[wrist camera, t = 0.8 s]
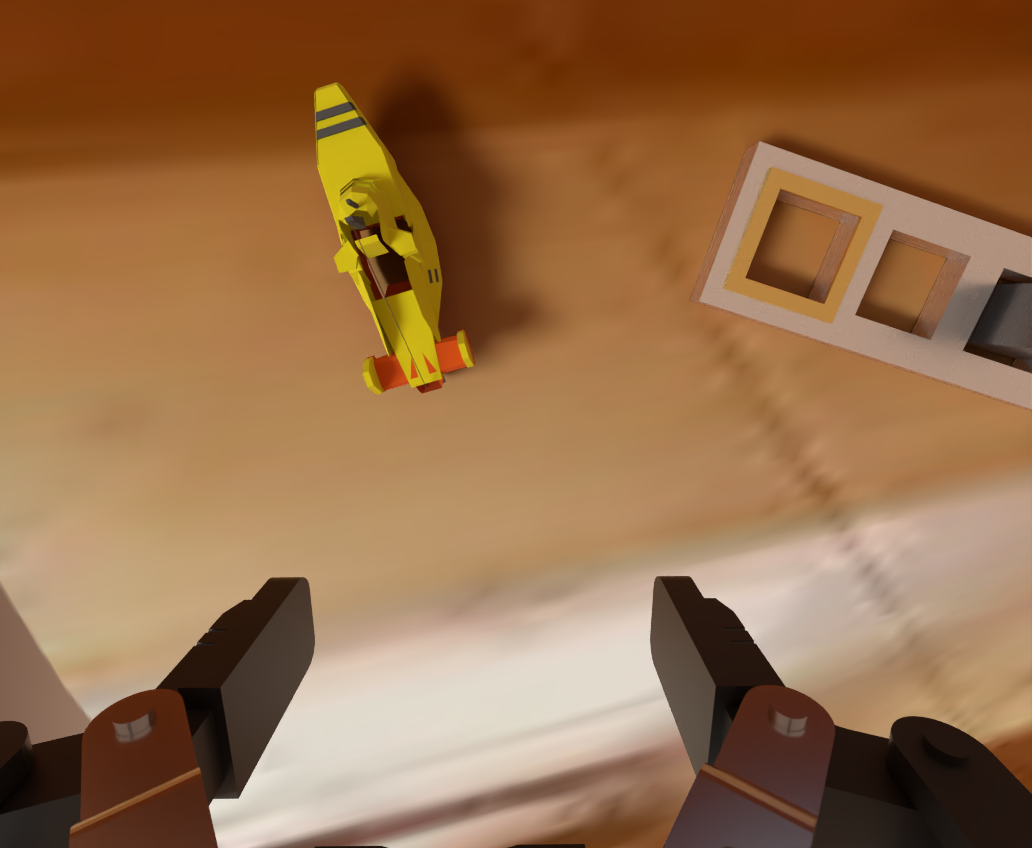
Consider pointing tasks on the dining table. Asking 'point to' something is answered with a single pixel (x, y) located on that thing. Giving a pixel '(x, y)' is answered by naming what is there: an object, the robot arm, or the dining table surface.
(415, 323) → the toy boat
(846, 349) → the rail
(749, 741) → the robot arm
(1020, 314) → the peg
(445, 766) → the dining table surface
